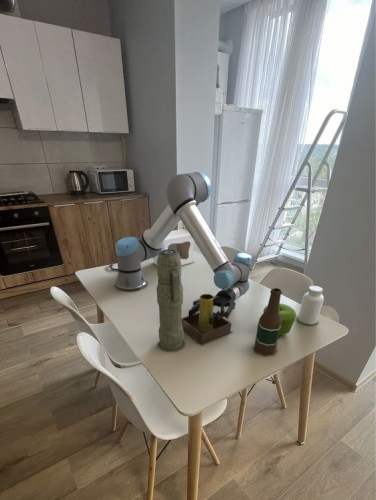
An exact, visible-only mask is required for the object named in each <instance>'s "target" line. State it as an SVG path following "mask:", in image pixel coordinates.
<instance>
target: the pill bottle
mask: <svg viewBox="0 0 376 500" xmlns="http://www.w3.org/2000/svg"><path fill="white" fill-rule="evenodd" d="M323 290H324V289H323V288H322V287H320V286H318V285H310V286H309V287H308V289H307V291H306V292H305V293H304V294H303V296H302V300H301V304H300V308H299V311H298V315H297V320H298V321H299V322H300V323H302V324H305V325H311V326H312V325H315V324H317V322H318V321H319V317H320V314H321V312H322V311H321V310H322V307H323V304H324V302H325V297H324V295H323V292H324V291H323Z"/></svg>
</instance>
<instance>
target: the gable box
mask: <svg viewBox="0 0 376 500" xmlns="http://www.w3.org/2000/svg"><path fill="white" fill-rule="evenodd" d="M178 224H182V225H181V229H175V230H174V229H173V230H172V231H171V232H170V234H169V235H168V236H167V237H166V238H165V239H164V241H163V246H162V247H163V249H162V251H163V250H168V249H169V246H170V245H173V244H176V251H177V252H178V253H179V256H180V259H181V266H184V265H187V264H193V263H194V250H195V247H194V244H195V241H194V240H193V238H192V237H191V235H190V233H189V232H188V230H187V229H186V227H185V225H184V224H183V222H182V221H181V220H180V222H179V223H178ZM157 259H158V256H156V257H154V258H152V263H153V264H154V265H156V266H157Z"/></svg>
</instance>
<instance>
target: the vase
mask: <svg viewBox="0 0 376 500" xmlns="http://www.w3.org/2000/svg"><path fill="white" fill-rule="evenodd" d="M213 296H214V295H213V294H211V293H203V294H201V295H200V296H199V299H200V308H199V311H198V312H199V321H198V330H199V331H201V332H208V331H211V330H213V323H212V324H211V325H210V324H209V319H210V317H211V316H213V312H214V306H213V299H214V297H213Z"/></svg>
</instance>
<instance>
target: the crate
mask: <svg viewBox="0 0 376 500" xmlns="http://www.w3.org/2000/svg"><path fill="white" fill-rule="evenodd" d="M215 313H216V312H214V311H213V315H214V314H215ZM198 321H199V311H198V312H196V313H195V314H194V315H192V316H191V317H188V315H187V316H186V315H185V316H183V317H182V327H183V332H185V333H186V334H188V335H189V336H190V337H192V338H193V339H194V340H195V341H197V342H198V343H199V344H201V345H204V344H206V343H209V342H211V341H213V340H216V339H218V338H221V337H223V336H226V335H227V334H230V333H232V332H231V331H232V323H231V322H230V321H228V320H227V319H226V318H225V317H223V318H220V319H219V320H216V321H215V322H214V323H213V330H211V331H208V332H201V331H199V330H198Z"/></svg>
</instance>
